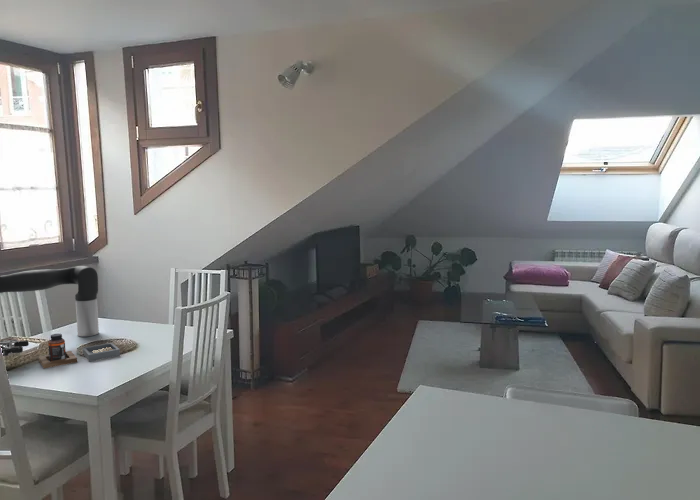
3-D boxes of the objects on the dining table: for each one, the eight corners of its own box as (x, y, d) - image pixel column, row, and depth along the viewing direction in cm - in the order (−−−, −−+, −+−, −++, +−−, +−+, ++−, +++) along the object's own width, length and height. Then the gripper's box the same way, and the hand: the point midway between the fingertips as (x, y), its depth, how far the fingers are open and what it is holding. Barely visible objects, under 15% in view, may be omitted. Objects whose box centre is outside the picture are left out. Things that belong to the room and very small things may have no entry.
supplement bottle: (68, 361, 215) (66, 334, 213) (52, 365, 210) (50, 337, 209) (63, 358, 219) (61, 331, 217) (47, 361, 214) (45, 334, 213)
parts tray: (82, 354, 224) (82, 347, 224) (112, 348, 231) (112, 342, 231) (89, 361, 215) (88, 354, 214) (120, 355, 222) (119, 349, 222)
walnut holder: (38, 360, 216) (38, 356, 215) (71, 354, 223) (70, 350, 223) (43, 368, 206) (43, 364, 206) (77, 362, 214) (77, 358, 213)
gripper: (-30, 345, 198) (20, 342, 203) (-17, 335, 211) (29, 332, 216) (-28, 364, 199) (21, 360, 204) (-15, 353, 212) (30, 350, 217)
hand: (25, 346), depth 210 cm, fingers open, 8 cm apart
